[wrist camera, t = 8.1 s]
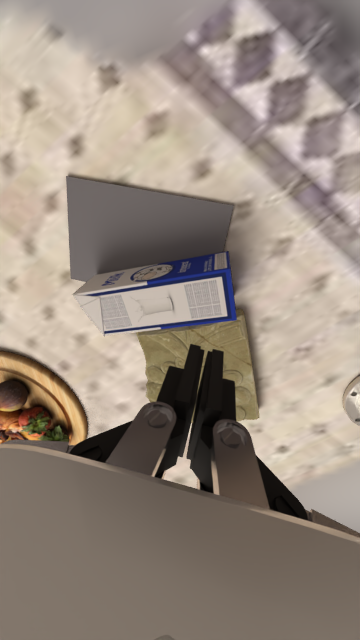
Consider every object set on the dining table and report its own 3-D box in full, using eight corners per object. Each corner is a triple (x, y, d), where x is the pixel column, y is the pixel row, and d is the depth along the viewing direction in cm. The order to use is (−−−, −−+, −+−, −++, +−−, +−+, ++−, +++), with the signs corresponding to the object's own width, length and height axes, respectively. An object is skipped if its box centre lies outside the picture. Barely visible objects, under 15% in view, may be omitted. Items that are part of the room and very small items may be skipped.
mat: (233, 205, 32) (233, 205, 31) (210, 306, 38) (210, 307, 37) (67, 176, 33) (66, 176, 33) (72, 277, 39) (70, 278, 39)
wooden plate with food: (6, 461, 66) (-21, 494, 59) (-78, 363, 54) (-125, 389, 47) (113, 450, 58) (97, 487, 51) (42, 332, 46) (9, 358, 39)
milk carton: (230, 268, 27) (70, 295, 32) (237, 321, 31) (91, 338, 35) (228, 250, 33) (94, 274, 38) (234, 296, 37) (109, 313, 41)
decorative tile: (243, 306, 38) (245, 316, 34) (258, 408, 45) (261, 424, 42) (129, 324, 42) (121, 334, 39) (160, 414, 50) (156, 428, 47)
